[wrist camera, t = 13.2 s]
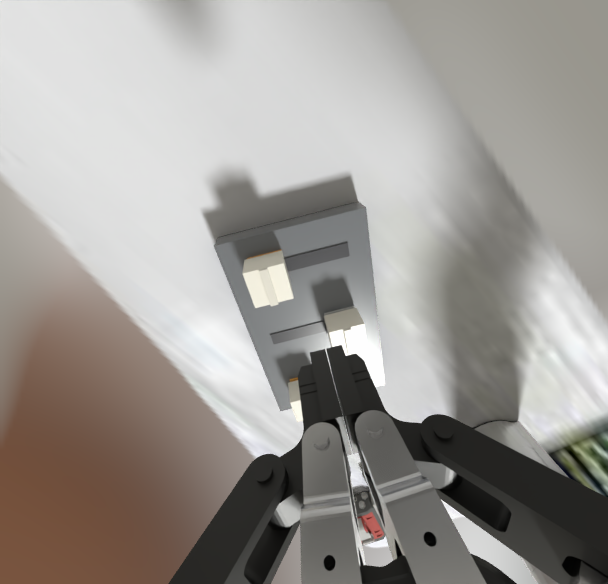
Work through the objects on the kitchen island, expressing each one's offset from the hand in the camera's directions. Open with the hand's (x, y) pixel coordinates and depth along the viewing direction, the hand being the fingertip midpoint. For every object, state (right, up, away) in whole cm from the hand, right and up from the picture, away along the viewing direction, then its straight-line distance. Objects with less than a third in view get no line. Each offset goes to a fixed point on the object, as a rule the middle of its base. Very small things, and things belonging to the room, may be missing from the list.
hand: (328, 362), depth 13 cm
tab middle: (+2, 0, +13) cm, 14 cm away
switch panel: (0, +1, +16) cm, 16 cm away
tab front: (-4, +5, +10) cm, 12 cm away
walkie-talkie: (+8, -32, +36) cm, 48 cm away
